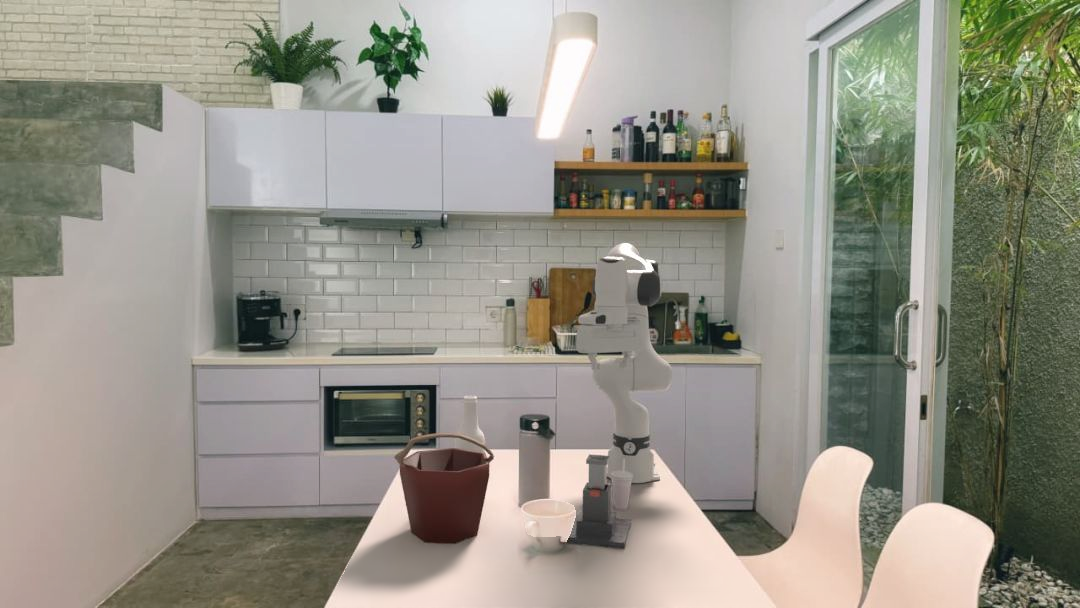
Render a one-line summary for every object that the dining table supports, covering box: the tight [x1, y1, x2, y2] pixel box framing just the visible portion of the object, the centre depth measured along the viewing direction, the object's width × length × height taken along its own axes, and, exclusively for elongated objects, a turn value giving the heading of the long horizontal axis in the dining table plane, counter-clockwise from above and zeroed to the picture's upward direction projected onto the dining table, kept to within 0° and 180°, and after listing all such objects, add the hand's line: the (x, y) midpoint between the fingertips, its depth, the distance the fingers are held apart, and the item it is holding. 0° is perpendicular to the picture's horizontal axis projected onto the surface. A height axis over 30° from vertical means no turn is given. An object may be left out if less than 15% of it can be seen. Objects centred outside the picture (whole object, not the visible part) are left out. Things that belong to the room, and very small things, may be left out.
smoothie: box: [610, 459, 633, 511], centre depth 194 cm, size 6×6×14 cm
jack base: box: [566, 481, 632, 550], centre depth 175 cm, size 16×16×12 cm
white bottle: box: [454, 395, 486, 453], centre depth 200 cm, size 9×9×30 cm
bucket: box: [394, 432, 495, 545], centre depth 175 cm, size 24×22×25 cm
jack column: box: [585, 453, 609, 491], centre depth 175 cm, size 5×5×18 cm
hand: (609, 369), depth 183 cm, fingers open, 8 cm apart
